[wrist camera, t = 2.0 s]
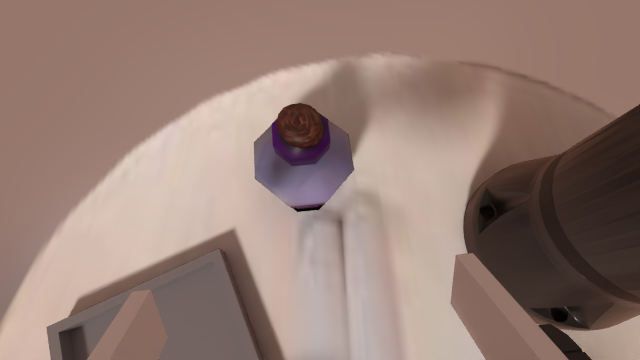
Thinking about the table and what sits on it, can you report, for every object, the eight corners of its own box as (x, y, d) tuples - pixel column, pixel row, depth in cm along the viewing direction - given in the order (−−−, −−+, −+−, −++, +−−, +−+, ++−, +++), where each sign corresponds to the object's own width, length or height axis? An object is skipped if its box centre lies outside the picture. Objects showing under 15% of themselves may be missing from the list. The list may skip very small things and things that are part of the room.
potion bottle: (364, 202, 32) (388, 144, 21) (286, 243, 30) (267, 204, 19) (323, 136, 34) (325, 54, 23) (250, 170, 33) (215, 99, 22)
